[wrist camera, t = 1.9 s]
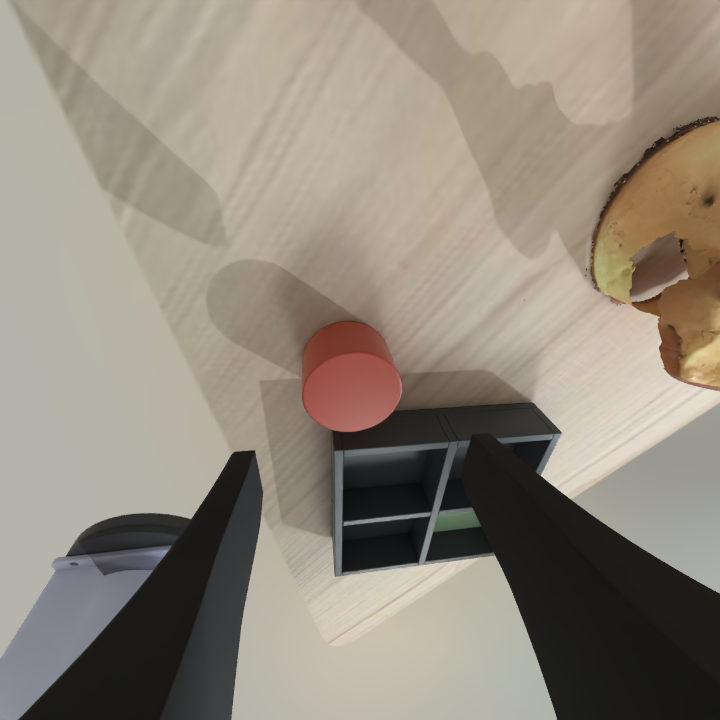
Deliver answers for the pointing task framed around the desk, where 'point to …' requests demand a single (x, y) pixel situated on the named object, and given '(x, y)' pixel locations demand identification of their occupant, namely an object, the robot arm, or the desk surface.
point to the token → (349, 378)
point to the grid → (421, 484)
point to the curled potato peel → (700, 243)
